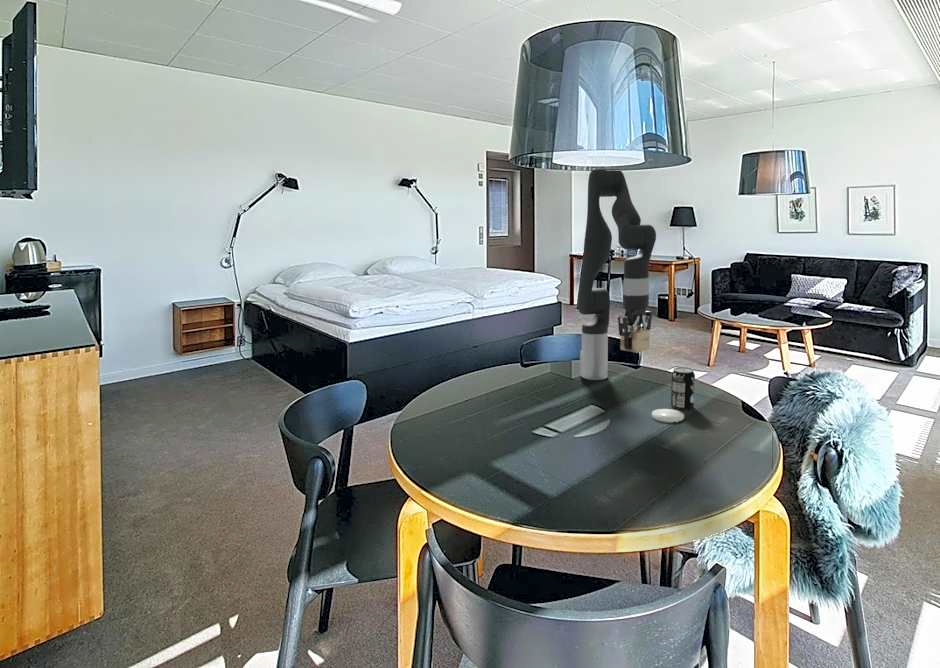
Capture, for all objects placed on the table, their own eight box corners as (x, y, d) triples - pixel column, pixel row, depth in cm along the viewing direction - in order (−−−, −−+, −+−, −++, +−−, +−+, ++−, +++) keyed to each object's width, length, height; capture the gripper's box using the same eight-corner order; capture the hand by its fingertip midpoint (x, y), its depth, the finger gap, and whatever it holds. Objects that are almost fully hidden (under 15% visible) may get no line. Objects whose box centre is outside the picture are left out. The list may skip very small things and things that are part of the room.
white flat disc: (645, 417, 164) (645, 414, 164) (662, 409, 170) (663, 406, 169) (672, 425, 157) (672, 421, 157) (690, 417, 163) (690, 414, 162)
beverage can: (690, 403, 174) (691, 366, 172) (696, 410, 168) (697, 372, 166) (668, 403, 175) (669, 366, 173) (674, 410, 169) (675, 372, 166)
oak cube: (620, 349, 169) (620, 330, 168) (632, 346, 173) (632, 327, 172) (637, 352, 165) (637, 333, 164) (649, 349, 168) (649, 330, 167)
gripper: (639, 289, 172) (638, 341, 176) (610, 294, 164) (609, 349, 167) (660, 291, 167) (659, 345, 170) (631, 296, 158) (630, 353, 162)
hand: (634, 347), depth 169 cm, fingers closed on oak cube, 6 cm apart
